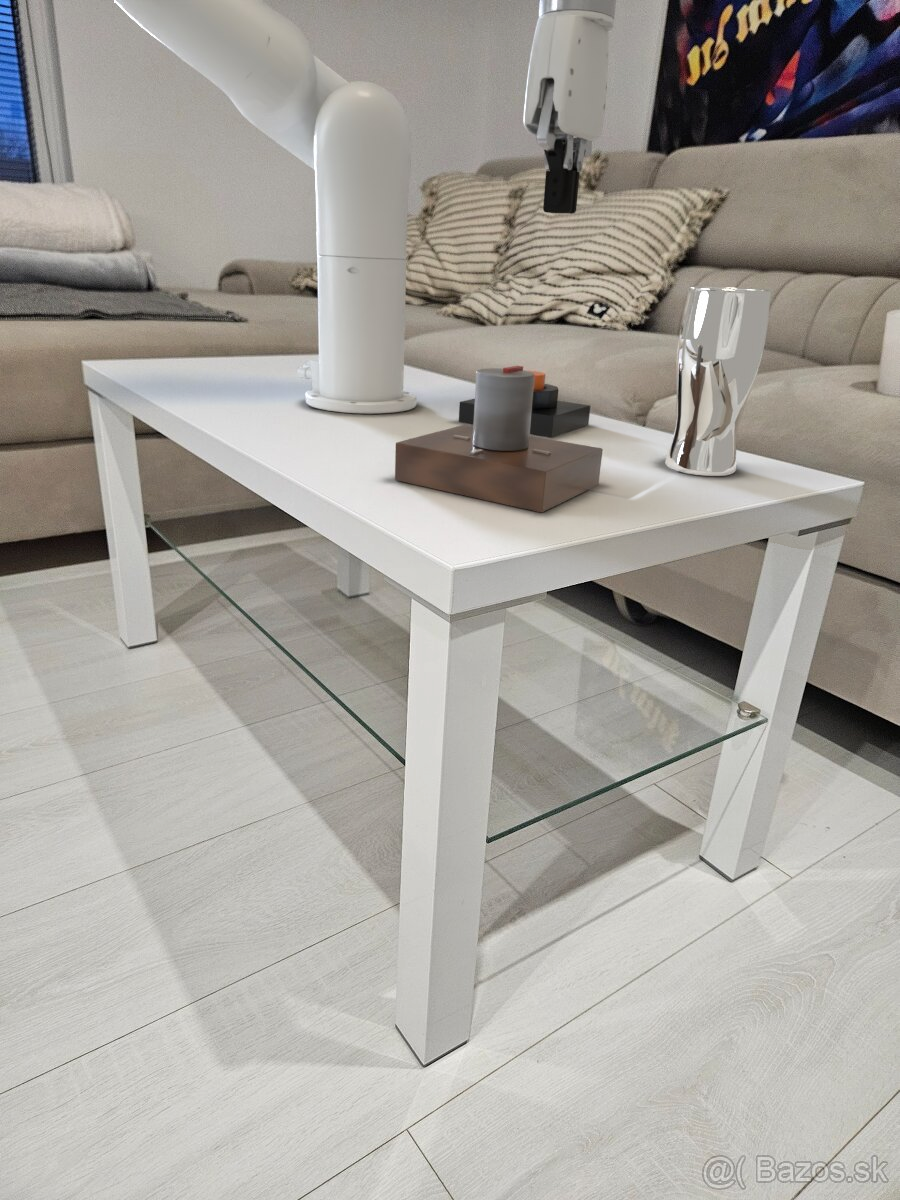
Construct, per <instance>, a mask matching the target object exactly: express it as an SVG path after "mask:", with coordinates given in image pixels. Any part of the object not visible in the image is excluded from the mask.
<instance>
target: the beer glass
mask: <svg viewBox="0 0 900 1200" xmlns="http://www.w3.org/2000/svg"><path fill="white" fill-rule="evenodd" d="M772 293H773V292H772V290H770V289H760V288H750V287H749V288H748V287H732V286H715V285H714V286H713V285H711V286H710V285H689V286H688V290H687V294H686V300H685V304H684V307H683V312H682V318H681V322H680V328H679V331H678V338H677V339H678V340H677V347H676V359H675V360H676V361H675V362H676V363H675V364H676V365H675V387H676V388H675V389H676V415H675V416H676V418H675V427H674V432H673V435H672V439H671V442H670V446H669V448H668V451H667V454H666V457H665V461H664V463H665V466H666V467H667V468H668V469H671V470H674V471H677V472H680V473H684V474H688V475H695V476H701V477H702V476H703V477H725V476H730V475H733V474H734V473H735V472H736V471H737V442H738V441H737V440H738V432H739V428H740V424H741V420H742V417H743V414H744V411H745V408H746V406H747V403H748V400H749V398H750V395H751V393H752V389H753V387H754V383H755V381H756V378H757V376H758V372H759V369H760V366H761V363H762V358H763V355H764V349H765V344H766V338H767V333H768V332H767V331H768V325H769V315H770V305H771V297H772Z"/></svg>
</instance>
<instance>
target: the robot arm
mask: <svg viewBox="0 0 900 1200" xmlns="http://www.w3.org/2000/svg"><path fill="white" fill-rule="evenodd" d="M113 1H114V3H116V4H117V5H118V7H120V8H121V10H123V11H124V12H125V13H126V14H127V16H129V17H130V18H131V19H132V20H133V21H134V22H135V23H136V24H138V25H139V26H140V27H141V28H142V29H143V30H145V31H146V32H147V33H149V34H150V36H152V37H153V38H155V39H156V40H157V41H158V42H159V43H161V44H162V45H163V46H165V47H167V48H168V49H169V50H170V51H171V52H173V53H174V55H176V56H177V57H178V58H180V59H181V60H182V62H185V63H186V64H187V65H188V66H190V67H191V68H192V69H194V70H195V71H197V72H198V73H199V74H200V75H202V76H204V77H205V78H206V79H207V80H208V81H210V82H211V83H212V84H214V85H215V86H216V87H217V88H218V89H220V91H222V92H223V93H224V94H225V95H226V96H227V97H228V98H229V99H230V101H231V102H232V103H233V104H234V106H235V107H236V109H237V110H238V111H239V113H240V115H242V116H243V117H244V118H245V119H246V120H247V121H248V122H249V123H250V124H252V125H253V126H254V127H255V128H257V130H259V131H260V132H262V133H263V134H264V135H266V136H267V137H268V138H270V139H271V140H273V141H274V142H276V144H278V145H279V146H281V147H282V148H283V149H285V150H286V151H288V152H289V153H290V154H292V156H294V157H296V158H297V159H299V160H300V161H301V162H302V163H304V164H305V165H307V166H308V167H309V168H311V169H312V170H314V176H315V177H314V178H315V179H314V180H315V181H314V182H315V183H314V184H315V214H316V215H315V219H316V221H315V224H316V260H317V263H316V265H317V266H316V267H317V270H316V271H317V321H318V323H317V325H318V326H317V327H318V359H314V360H306V361H304V362H303V365H299V366H298V367H297V369H296V376H297V377H298V378H299V379H305V380H311V384H312V385H311V389H309V390H308V391H306V392H305V403H306V405H308V406H310V407H312V408H315V409H319V410H323V411H329V412H335V413H346V414H365V415H367V414H370V415H371V414H375V415H376V414H393V413H402V412H405V411H410V410H413V409H414V408H416V406H417V403H418V402H417V395H415V394H414V393H413V392H410V391H407V390H404V381H405V379H404V378H405V377H404V376H405V339H406V338H405V337H406V335H405V334H406V329H405V328H406V292H407V291H406V290H407V243H408V242H407V241H408V239H407V238H408V210H409V194H410V193H409V192H410V181H411V167H412V136H411V129H410V128H411V127H410V123H409V120H408V118H407V117H408V116H407V115H406V112H405V111H404V109H403V107H402V105H401V103H400V102H399V100H398V99H397V98H396V97H395V95H393V94H392V93H391V92H390V91H389V90H387V89H386V88H385V87H383V86H382V85H380V84H377V83H375V82H372V81H367V80H354V81H353V80H352V81H348V80H346V79H345V78H344V77H343V76H342V75H340V74H338V73H337V72H336V71H335V70H333V69H332V68H331V67H330V66H328V65H327V64H325V62H323V61H322V60H321V59H319V58H318V57H317V56H316V55H315V54H314V52H313V49H312V47H311V44H310V42H309V40H308V39H307V37H306V35H305V34H304V32H303V31H302V29H300V28H299V27H298V26H297V25H296V24H295V23H294V21H292V20H291V19H289V18H287V17H285V15H283V14H281V13H280V12H278V11H277V10H276V9H274V8H273V7H271V6H270V5H268V4H267V3H266V2H264V1H263V0H113ZM616 4H617V0H539V5H538V18H537V21H536V26H535V29H534V33H533V40H532V44H531V51H530V56H529V62H528V71H527V77H526V88H525V98H524V107H523V127H524V129H525V130H526V132H527V133H528V134H530V135H533V136H535V137H536V138H535V140H536V144H537V145H538V146H539V147H541V148H542V149H543V151H544V152H543V153H544V154H543V155H544V157H543V158H544V165H543V166H544V169H545V181H544V191H543V192H544V194H543V204H542V205H543V206H542V210H543V212H544V213H549V214H567V215H568V214H571V215H572V214H575V213H576V212H577V207H578V206H577V205H578V196H579V184H580V173H581V172H582V170H583V165H584V159H585V157H588V156H590V155H591V154H592V150H593V149H592V148H593V142H595V141H597V140H598V139H599V138H600V137H601V136H602V132H603V129H604V128H603V127H604V121H605V114H606V105H607V104H606V103H607V91H608V73H609V71H608V70H609V32H610V31H612V30H613V29H614V24H615V13H616V6H617V5H616Z"/></svg>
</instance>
